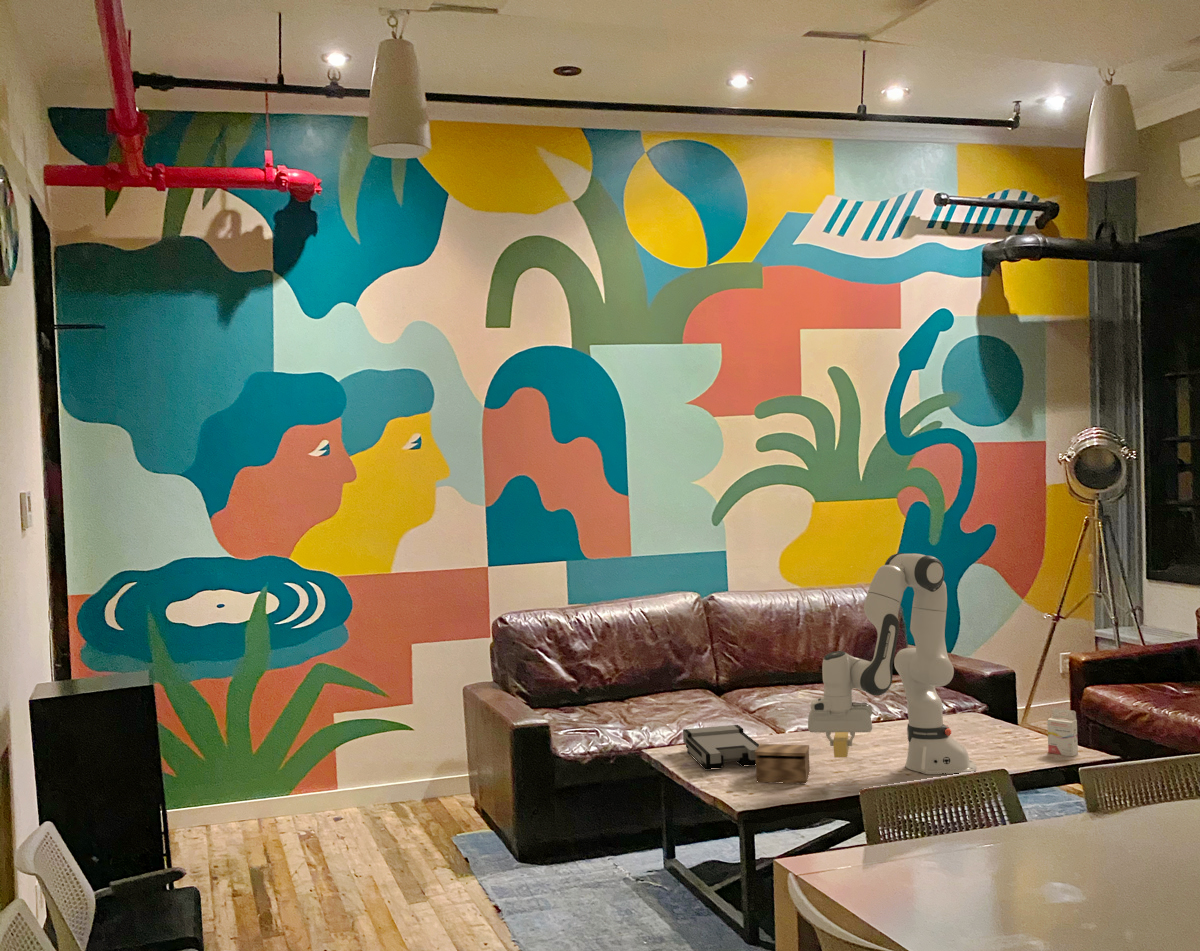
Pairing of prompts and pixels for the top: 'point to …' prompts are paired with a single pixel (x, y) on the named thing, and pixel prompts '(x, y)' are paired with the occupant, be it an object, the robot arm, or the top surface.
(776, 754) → the box lid
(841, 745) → the yellow block
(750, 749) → the game console
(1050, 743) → the ink cartridge box
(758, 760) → the wooden box
